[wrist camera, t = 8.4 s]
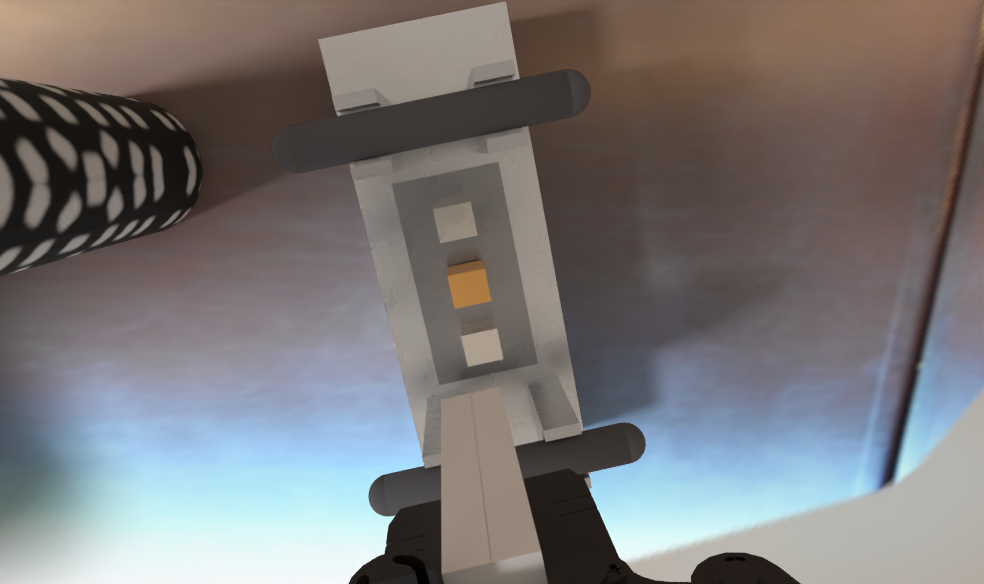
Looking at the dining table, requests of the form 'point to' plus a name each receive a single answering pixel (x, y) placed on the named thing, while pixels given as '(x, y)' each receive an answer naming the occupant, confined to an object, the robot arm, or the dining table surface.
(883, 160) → the dining table surface
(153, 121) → the spotted tube
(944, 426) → the dining table surface
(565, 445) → the dark grey bar handle
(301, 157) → the dark grey rod
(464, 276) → the breaker paddle
